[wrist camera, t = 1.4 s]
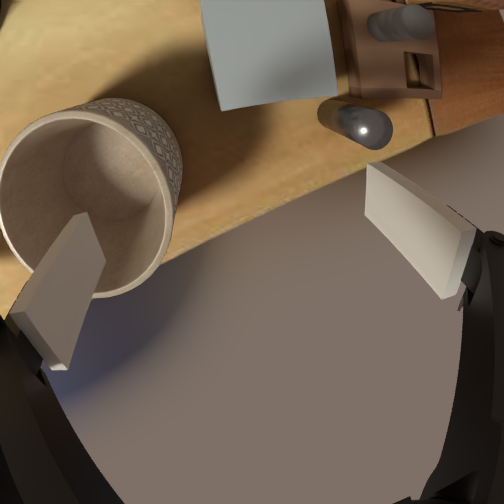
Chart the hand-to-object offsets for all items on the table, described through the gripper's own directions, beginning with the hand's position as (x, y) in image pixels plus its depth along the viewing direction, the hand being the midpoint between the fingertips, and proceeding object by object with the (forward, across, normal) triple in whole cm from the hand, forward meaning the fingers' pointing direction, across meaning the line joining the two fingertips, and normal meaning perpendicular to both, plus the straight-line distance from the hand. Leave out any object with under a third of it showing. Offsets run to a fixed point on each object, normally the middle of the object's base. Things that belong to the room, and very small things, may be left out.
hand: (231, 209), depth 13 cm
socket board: (+21, +22, +9) cm, 31 cm away
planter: (+21, -12, -2) cm, 24 cm away
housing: (+21, +6, +8) cm, 23 cm away
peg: (+21, +13, 0) cm, 25 cm away
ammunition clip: (+21, +30, +17) cm, 41 cm away
